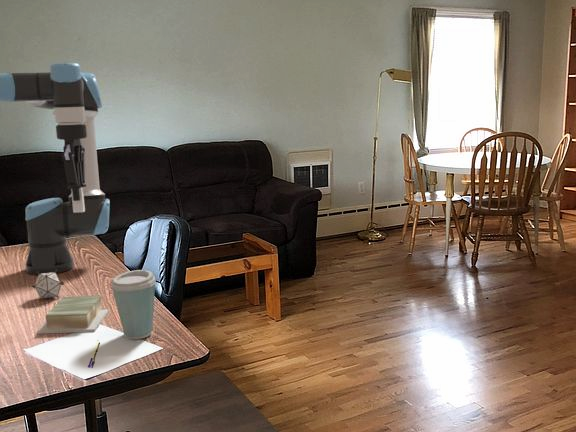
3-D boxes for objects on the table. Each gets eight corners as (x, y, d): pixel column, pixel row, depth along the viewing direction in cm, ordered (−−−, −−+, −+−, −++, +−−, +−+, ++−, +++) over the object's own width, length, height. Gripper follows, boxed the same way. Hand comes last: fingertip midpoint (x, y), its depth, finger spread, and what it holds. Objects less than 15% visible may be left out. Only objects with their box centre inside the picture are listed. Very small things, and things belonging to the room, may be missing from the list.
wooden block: (63, 296, 167) (45, 315, 154) (100, 295, 168) (86, 313, 154) (64, 309, 168) (47, 329, 154) (102, 308, 168) (88, 327, 155)
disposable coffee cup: (139, 346, 144) (134, 284, 141) (105, 338, 149) (99, 278, 146) (168, 330, 153) (164, 272, 150) (135, 323, 158) (131, 266, 155)
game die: (53, 312, 179) (50, 292, 172) (27, 301, 180) (22, 280, 173) (71, 289, 185) (68, 269, 178) (46, 278, 186) (42, 257, 179)
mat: (55, 313, 167) (55, 311, 167) (108, 311, 167) (108, 309, 167) (37, 333, 153) (37, 331, 153) (94, 331, 154) (94, 329, 154)
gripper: (64, 122, 169) (72, 207, 174) (47, 125, 157) (57, 217, 162) (91, 121, 170) (99, 206, 175) (78, 124, 157) (86, 216, 162)
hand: (79, 211), depth 168 cm, fingers closed
